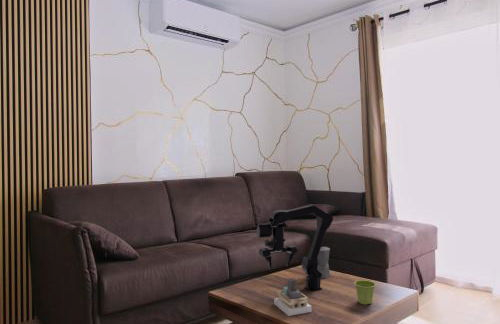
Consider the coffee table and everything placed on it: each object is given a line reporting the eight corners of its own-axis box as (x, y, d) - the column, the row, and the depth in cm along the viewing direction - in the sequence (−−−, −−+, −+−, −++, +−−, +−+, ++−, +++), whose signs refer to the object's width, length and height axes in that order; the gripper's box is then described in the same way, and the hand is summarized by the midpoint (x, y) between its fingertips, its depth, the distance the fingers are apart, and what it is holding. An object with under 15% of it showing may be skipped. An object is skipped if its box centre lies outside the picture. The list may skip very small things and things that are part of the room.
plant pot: (377, 300, 186) (377, 281, 186) (374, 307, 177) (374, 287, 177) (356, 297, 190) (356, 279, 190) (352, 304, 181) (352, 285, 181)
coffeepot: (319, 271, 233) (318, 240, 232) (334, 273, 228) (334, 241, 227) (307, 278, 220) (307, 245, 219) (324, 281, 215) (323, 247, 214)
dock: (295, 300, 188) (295, 294, 188) (311, 311, 174) (311, 306, 174) (274, 303, 184) (274, 298, 184) (288, 315, 170) (288, 310, 170)
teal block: (291, 292, 184) (291, 285, 184) (294, 294, 181) (294, 287, 181) (283, 293, 183) (283, 287, 183) (286, 295, 180) (286, 289, 180)
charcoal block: (298, 297, 178) (297, 290, 178) (301, 299, 175) (301, 292, 175) (289, 298, 177) (289, 291, 177) (292, 300, 174) (292, 293, 174)
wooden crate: (294, 295, 187) (294, 274, 187) (308, 305, 175) (308, 282, 174) (276, 298, 184) (276, 276, 184) (289, 308, 171) (289, 285, 171)
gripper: (288, 231, 210) (288, 261, 210) (254, 235, 203) (255, 266, 204) (298, 235, 199) (298, 267, 200) (262, 239, 193) (263, 272, 193)
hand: (278, 268), depth 199 cm, fingers open, 9 cm apart
